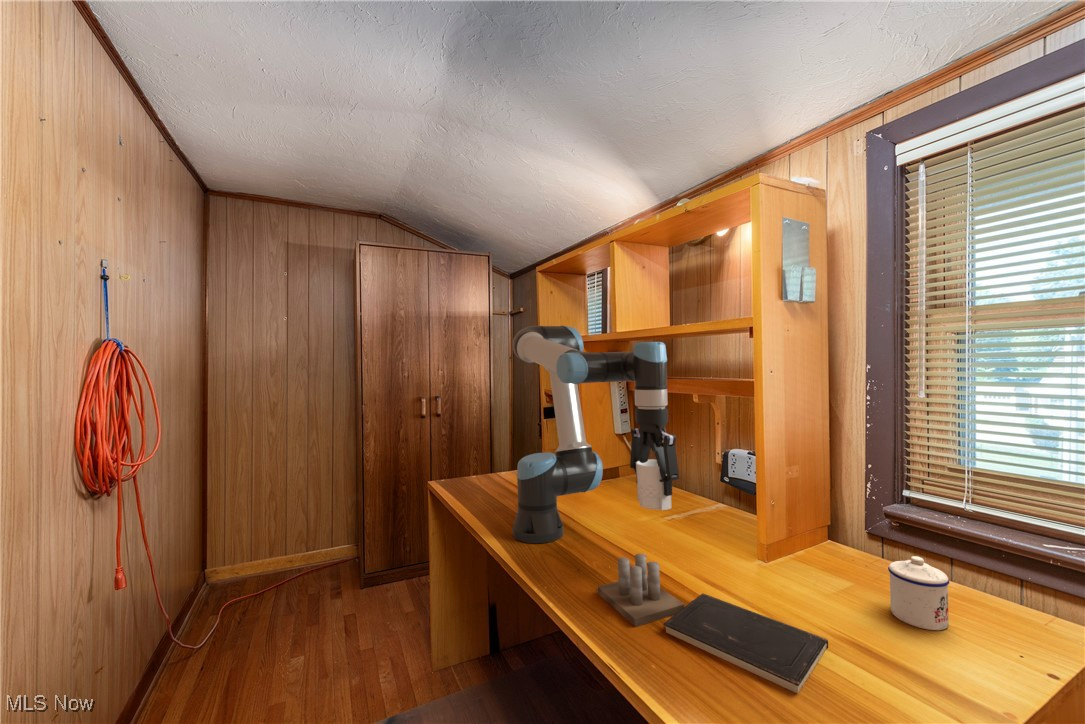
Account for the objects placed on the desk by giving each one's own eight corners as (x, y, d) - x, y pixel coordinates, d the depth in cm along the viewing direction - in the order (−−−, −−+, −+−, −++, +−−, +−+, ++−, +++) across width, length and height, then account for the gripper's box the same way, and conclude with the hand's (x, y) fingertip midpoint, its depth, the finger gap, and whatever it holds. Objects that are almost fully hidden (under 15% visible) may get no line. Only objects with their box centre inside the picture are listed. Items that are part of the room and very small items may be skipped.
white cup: (673, 511, 102) (671, 467, 102) (637, 510, 103) (636, 466, 103) (669, 500, 109) (668, 459, 109) (636, 499, 111) (635, 459, 111)
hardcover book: (798, 699, 68) (798, 684, 68) (663, 635, 84) (663, 623, 84) (828, 650, 79) (828, 637, 79) (703, 602, 96) (703, 591, 96)
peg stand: (597, 593, 99) (596, 554, 99) (642, 581, 104) (641, 544, 104) (635, 626, 86) (634, 582, 86) (684, 611, 91) (683, 569, 91)
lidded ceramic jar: (949, 638, 81) (948, 573, 81) (886, 619, 87) (884, 559, 87) (951, 610, 89) (950, 551, 89) (893, 595, 96) (892, 540, 96)
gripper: (695, 409, 99) (697, 514, 98) (637, 403, 117) (640, 491, 117) (668, 412, 95) (670, 519, 95) (613, 405, 114) (616, 495, 114)
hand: (654, 503), depth 106 cm, fingers closed on white cup, 7 cm apart
